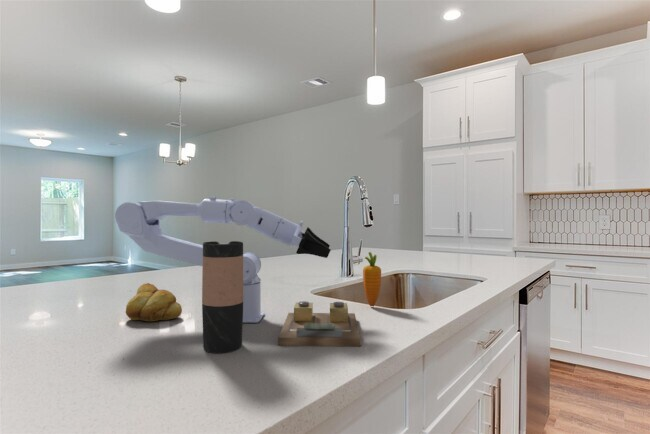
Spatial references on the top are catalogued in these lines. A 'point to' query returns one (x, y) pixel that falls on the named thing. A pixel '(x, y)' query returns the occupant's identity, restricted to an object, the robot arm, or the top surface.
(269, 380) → the top surface
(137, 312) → the bread roll
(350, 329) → the base
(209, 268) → the travel mug
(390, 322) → the top surface
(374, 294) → the carrot
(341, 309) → the slide
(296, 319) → the slide
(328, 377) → the top surface
